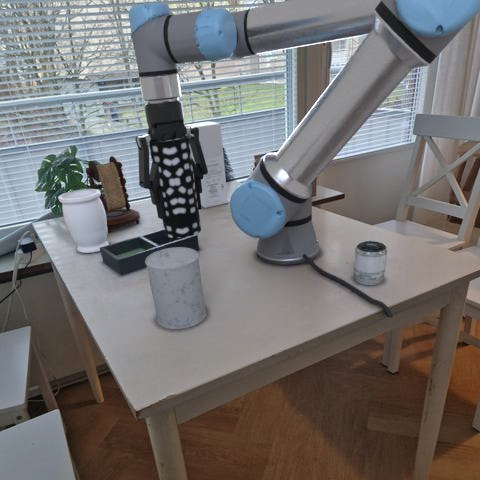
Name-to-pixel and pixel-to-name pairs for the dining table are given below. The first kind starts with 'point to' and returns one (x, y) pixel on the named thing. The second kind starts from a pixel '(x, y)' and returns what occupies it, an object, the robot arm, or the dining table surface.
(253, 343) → the dining table surface
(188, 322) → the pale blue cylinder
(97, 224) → the jar
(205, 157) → the tall white carton
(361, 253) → the camera lens
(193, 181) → the white-spotted black cylinder
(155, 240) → the divided tray
